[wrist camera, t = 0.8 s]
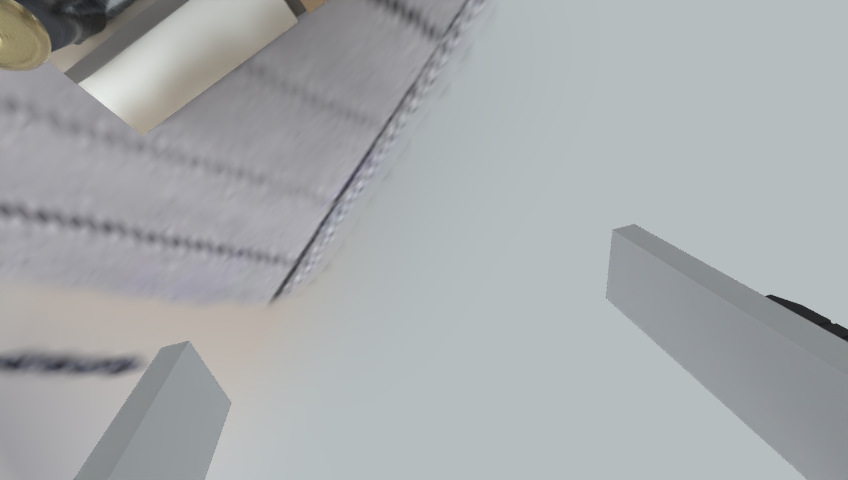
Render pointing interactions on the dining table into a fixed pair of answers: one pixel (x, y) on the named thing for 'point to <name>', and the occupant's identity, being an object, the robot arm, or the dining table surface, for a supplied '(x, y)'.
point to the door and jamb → (172, 52)
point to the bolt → (49, 27)
